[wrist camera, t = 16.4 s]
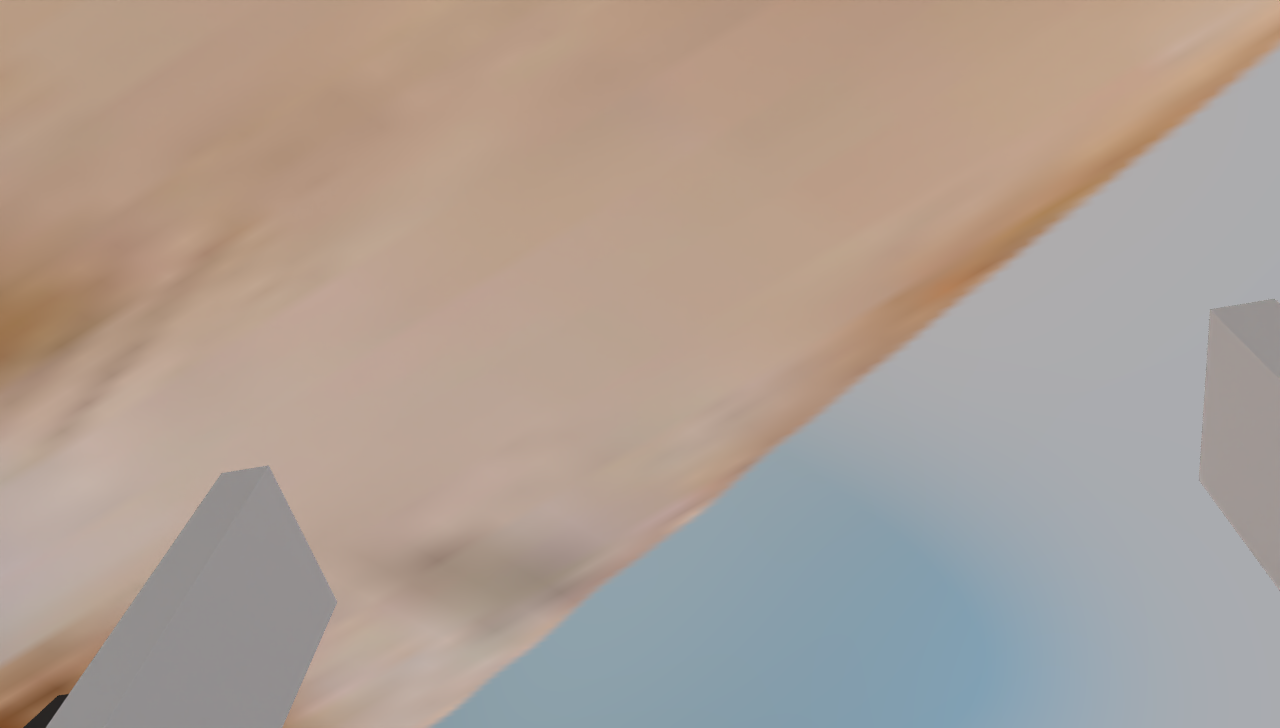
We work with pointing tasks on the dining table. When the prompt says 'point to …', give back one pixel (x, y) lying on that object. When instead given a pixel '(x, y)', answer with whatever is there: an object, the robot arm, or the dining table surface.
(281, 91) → the dining table surface
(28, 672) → the dining table surface
